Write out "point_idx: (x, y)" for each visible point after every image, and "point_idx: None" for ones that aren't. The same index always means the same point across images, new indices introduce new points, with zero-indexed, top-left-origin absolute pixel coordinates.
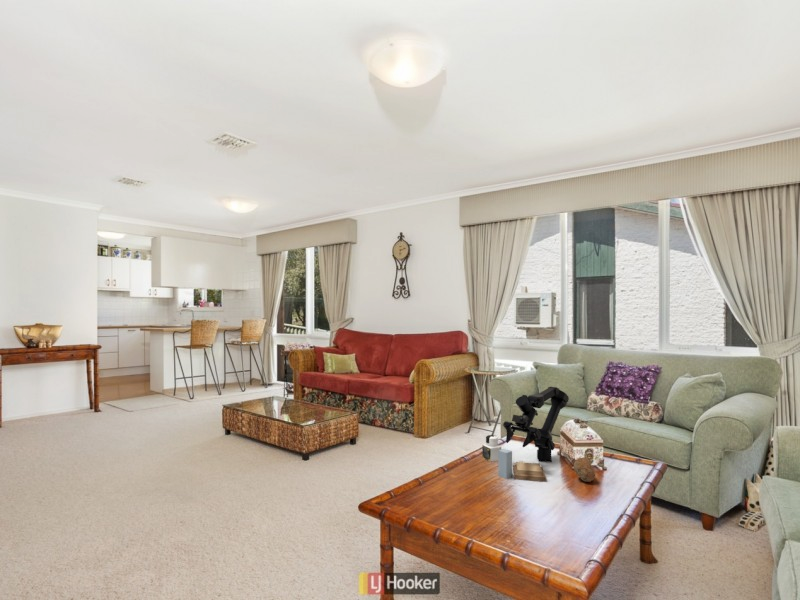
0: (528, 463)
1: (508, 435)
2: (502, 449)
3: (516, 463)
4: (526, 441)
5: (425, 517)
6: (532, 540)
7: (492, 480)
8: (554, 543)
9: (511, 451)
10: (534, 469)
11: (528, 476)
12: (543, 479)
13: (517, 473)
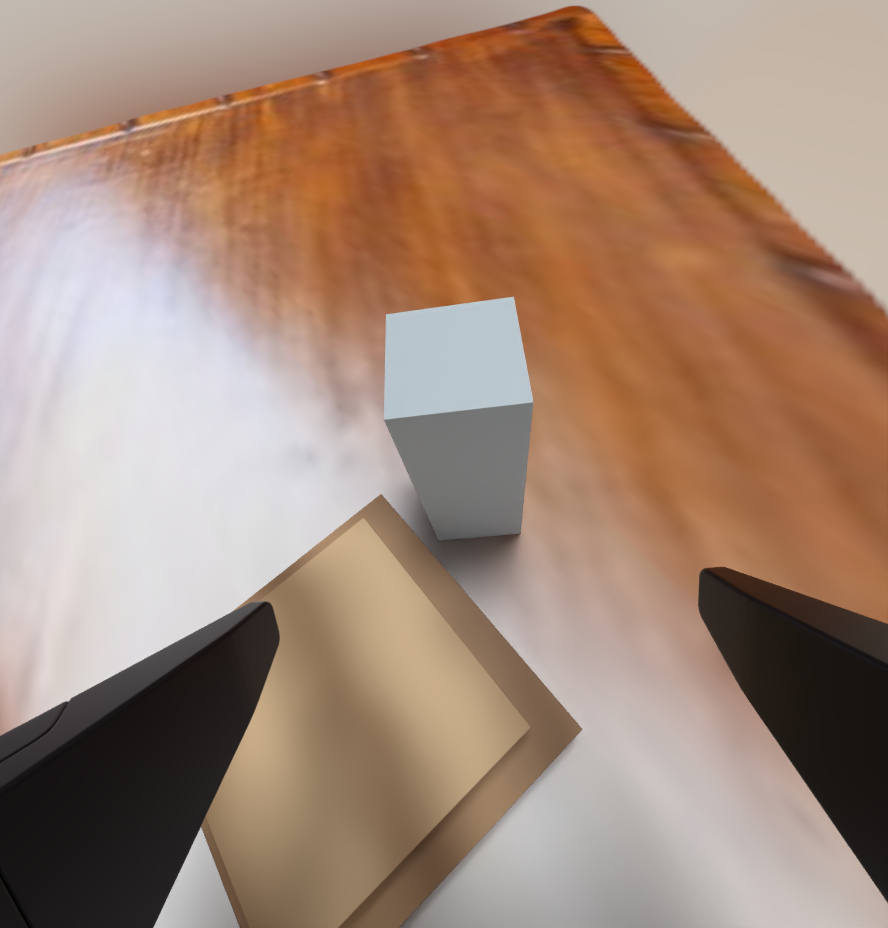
0: (389, 822)
1: (868, 658)
2: (520, 363)
3: (487, 674)
4: (113, 692)
5: (398, 72)
6: (85, 190)
7: None
8: (23, 218)
9: (386, 409)
10: None
11: (284, 571)
12: None
13: (378, 535)
